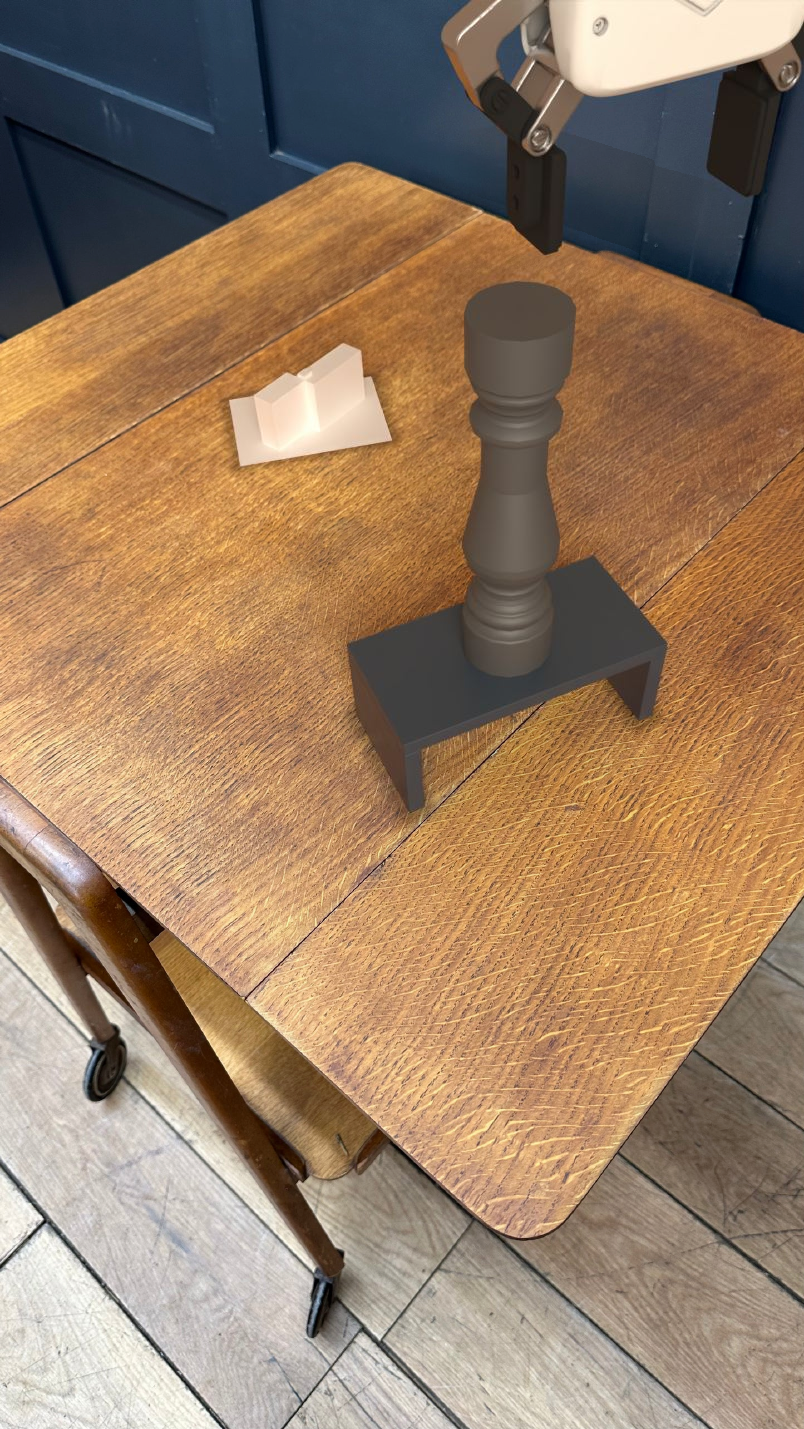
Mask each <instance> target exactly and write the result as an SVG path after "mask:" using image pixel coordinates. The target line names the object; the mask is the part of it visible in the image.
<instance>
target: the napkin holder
mask: <svg viewBox="0 0 804 1429" xmlns="http://www.w3.org/2000/svg"><path fill="white" fill-rule="evenodd" d="M228 401H229V407H230V414H231V420H232V425H233V431H234V439H235V442H236V449H237V455H238V460H239V462H238V463H239V467H245V466H246V467H247V466H251V465H256V464H263V463H269V462H274V461H280V460H285V459H292V458H298V457H304V456H309V455H316V454H321V453H326V452H327V453H328V452H332V451H340V450H345V449H351V448H356V447H362V446H368V445H373V444H375V445H376V444H380V443H385V442H392V441H393V439H392V436H391V433H390V428H389V427H388V424H387V420H386V417H385V414H384V412H383V411H384V410H383V408H382V406H381V401H380V399H379V395H378V392H377V390H376V386H375V384H374V380H373V378H372V376H366V377H364V369H363V357H362V350H361V349H359V348H356V347H354V346H351V345H349V344H347V343H344V342H342V343H341V344H339V345H338V346H337V347H335V348H334V349H332V350H330V351H329V352H328V353H326V354H325V355H323V356H322V357H320V358H319V359H317V360H316V361H315V362H313V363H312V364H311V365H309V366H308V367H305V368H303V369H301V371H299V372H298V373H297V374H296V375H294V374H292V373H290V372H285V373H283V374H282V375H281V376H279V377H277V378H276V379H275V380H273V381H272V382H270V383H269V384H268V385H266V386H265V387H263V388H262V389H261V390H259V391H258V392H256V393H255V394H253V395H252V396H245V397H239V398H233V399H229V400H228Z"/></svg>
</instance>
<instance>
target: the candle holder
mask: <svg viewBox="0 0 804 1429" xmlns="http://www.w3.org/2000/svg"><path fill="white" fill-rule="evenodd" d="M576 318H577V306H576V305H575V303H574V301H573V299H572V297H571V296H570V295H568V294H567V293H565V292H564V291H562V290H561V289H559V288H558V287H555V286H552V285H548V284H545V283H542V282H539V281H538V282H536V281H521V280H520V281H519V280H516V281H510V282H509V281H508V282H503V283H502V282H501V283H496V284H493V285H491V286H489V287H486V288H483V289H480V290H479V291H477V292H476V293H475V294H474V295H472V296H471V297H470V298H469V299H468V300H467V302H466V305H465V308H464V311H463V367H464V371H465V374H466V375H467V378H468V380H469V382H470V385H471V387H472V391H473V392H474V393H475V395H477V397H476V399H475V400H474V401H473V402H471V405H470V408H469V412H468V421H469V424H470V427H471V430H472V432H473V434H474V435H475V436H476V437H478V438H479V439H480V474H479V475H480V476H479V477H478V478H479V479H478V482H477V485H476V489H475V492H474V497H473V499H472V503H471V507H470V509H469V513H468V516H467V520H466V523H465V525H464V529H463V534H462V538H461V550H462V552H463V555H464V559H465V562H466V564H467V567H468V568H469V570H470V571H471V572H472V573H473V574H474V577H473V578H472V579H471V580H469V582H468V584H467V589H466V593H465V598H464V601H463V602H464V606H463V610H462V646H463V649H464V652H465V656H466V658H467V659H468V660H469V661H470V662H471V663H472V664H473V665H474V666H475V667H476V668H477V669H479V670H481V671H483V672H486V673H488V674H490V675H494V676H502V677H514V676H520V675H526V674H528V673H530V672H532V671H533V670H535V669H537V668H539V667H541V665H542V664H543V663H544V662H545V660H546V659H547V658H548V656H549V654H550V649H551V643H552V631H553V620H554V607H553V605H552V602H551V598H552V592H551V589H550V587H549V584H548V582H547V580H546V579H545V578H544V576H545V575H546V574H547V572H549V571H551V569H552V568H553V567H554V565H555V564H556V562H557V560H558V557H559V551H560V545H561V534H560V528H559V525H558V520H557V516H556V511H555V506H554V500H553V496H552V492H551V488H550V483H549V479H548V474H547V472H548V458H549V444H550V441H551V440H553V438H554V437H555V436H556V435H557V434H558V433H559V432H560V431H561V427H562V423H563V418H564V409H563V407H562V405H561V403H560V400H559V399H557V398H556V397H557V395H558V394H559V393H560V392H561V391H562V390H563V388H564V386H565V381H566V379H568V377H570V375H571V370H572V364H573V355H574V354H573V353H574V344H575V332H576V320H577V319H576Z"/></svg>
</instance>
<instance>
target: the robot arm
mask: <svg viewBox="0 0 804 1429" xmlns="http://www.w3.org/2000/svg"><path fill="white" fill-rule="evenodd" d="M519 26H520V37H521V38H520V39H521V44H522V49H523V51H524V53H525V55H526V57H525V59H524V61H523V63H521V66H520V67H519V69H518V70H517V73H516V75H515V76H514V78H513V79H512V81H511V83H508V82H507V80H506V78H505V76H504V73H503V71H502V67H501V65H500V61H499V59H498V49H499V48H500V45H501V43H502V42H503V41H504V40H505V38H506V37H508V36H509V35H510V34H511V33H512V32H513V31H514V30H516V29H517V28H518V27H519ZM440 40H441V43H442V47H443V48H444V51H445V52H446V55H447V56H448V58H449V60H450V62H451V65H452V66H453V69H454V70H455V73H456V75H457V77H458V80H459V81H460V82H461V83H462V85H463V87H464V93H465V96H466V98H467V99H468V101H469V102H470V103H472V105H474V107H475V108H477V110H479V111H480V112H481V113H482V114H483V115H484V116H486V117H487V119H488V120H490V121H491V123H493V124H494V125H495V126H496V128H497V129H498V130H499V131H500V132H501V133H503V134H504V135H506V138H507V139H506V188H505V189H506V192H505V194H506V195H505V208H506V215H507V218H508V220H509V223H510V224H511V225H512V226H513V228H514V229H515V231H516V232H518V233H519V234H520V236H522V237H523V238H524V239H525V240H526V241H527V242H528V243H530V244H531V245H532V246H533V247H534V248H535V249H537V250H538V251H539V252H540V253H541V254H542V255H543V256H548V255H551V254H555V253H558V252H559V251H560V250H559V249H560V248H561V247H562V246H563V238H564V237H563V236H564V216H565V200H566V184H567V183H566V182H567V167H568V166H567V165H568V159H567V158H568V157H567V155H566V152H565V151H564V150H562V149H561V148H560V147H559V146H557V145H556V144H555V142H556V141H557V139H558V138H559V136H560V134H561V133H562V131H563V130H564V128H565V127H566V126H567V123H568V122H569V120H570V119H571V117H572V116H573V114H574V113H575V111H576V109H577V108H578V106H579V105H580V103H581V101H582V100H583V99H584V97H585V95H586V96H589V97H594V98H610V97H615V96H621V95H625V94H629V93H635V92H638V91H643V90H647V89H651V88H654V87H658V86H663V85H666V84H671V83H674V82H678V81H683V80H686V79H690V78H694V77H699V76H703V75H705V74H709V73H713V72H717V71H720V70H721V71H722V70H724V69H729V68H733V67H736V68H735V69H731V70H727V71H723V72H722V78H721V80H720V82H719V83H718V84H719V85H718V90H717V97H716V103H715V108H714V115H713V122H712V128H711V133H710V141H709V146H708V153H707V160H706V165H705V166H706V171H707V173H708V174H709V175H711V176H712V177H714V178H715V179H717V180H718V181H720V182H721V183H722V184H724V185H726V186H728V187H729V188H730V189H731V190H734V192H737V193H738V194H739V195H741V196H743V197H745V198H750V197H753V196H757V195H759V194H760V193H761V191H762V189H763V184H764V180H765V174H766V170H767V164H768V162H769V161H768V160H769V155H770V152H771V146H772V142H773V137H774V133H775V132H774V131H775V126H776V121H777V116H778V112H779V106H780V102H781V96H782V92H787V91H788V90H790V89H792V88H793V87H794V86H795V85H796V83H798V81H799V79H800V76H801V73H802V68H803V67H802V61H803V60H804V0H470V1H469V2H467V3H466V5H464V6H463V7H462V8H461V9H460V10H458V11H457V12H456V13H455V14H454V15H453V16H452V17H451V18H450V19H449V20H448V21H446V23H445V24H444V25H443V27H442V30H441V36H440Z"/></svg>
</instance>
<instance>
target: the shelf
mask: <svg viewBox="0 0 804 1429" xmlns="http://www.w3.org/2000/svg"><path fill="white" fill-rule="evenodd" d="M544 578H545V579H546V580H547V582H548V584H549V587H550V589H551V592H552V598H551V602H552V605H553V607H554V620H553V631H552V643H551V649H550V654H549V656H548V658H547V659H546V660H545V662H544V663H543V664H542V665H541V667H539V668H537V669H535V670H533V671H532V672H530V673H528V674H526V675H520V676H514V677H502V676H494V675H490V674H488V673H486V672H483V671H481V670H479V669H477V668H476V667H475V666H474V665H473V664H472V663H471V662H470V661H469V660H468V659H467V658H466V656H465V652H464V649H463V646H462V610H463V606H464V602H465V601H462V602H460V603H457V604H454V605H451V606H448V607H446V608H443V609H440V610H438V611H435V612H431V613H429V614H426V615H424V616H421V617H418V618H415V619H412V620H409V621H406V622H404V623H400V624H398V625H396V626H392V627H390V628H387V629H384V630H382V631H377V632H375V633H373V634H370V635H367V636H365V637H364V636H363V637H362V638H359V639H356V640H354V641H351V642H348V643H346V651H347V655H348V656H347V657H348V664H349V671H350V678H351V685H352V693H353V694H352V695H353V701H354V708H355V714H356V716H357V718H358V720H359V722H360V724H361V726H362V728H363V729H364V731H365V733H366V736H367V737H368V739H369V741H370V742H371V744H372V746H373V748H374V751H375V752H376V754H377V756H378V757H379V760H380V761H381V763H382V765H383V767H384V769H385V770H386V772H387V774H388V776H389V778H390V780H391V782H392V784H393V786H394V787H395V789H396V791H397V793H398V795H399V796H400V798H401V800H402V802H403V804H404V807H405V808H406V809H407V812H408V813H410V814H411V813H413V812H415V811H418V810H420V809H423V808H424V807H425V797H424V782H423V781H424V780H423V779H424V778H423V764H422V750H425V749H427V748H429V747H432V746H434V745H438V744H440V743H442V742H445V741H447V740H451V739H453V738H455V737H457V736H461V735H462V734H465V733H468V732H471V731H474V730H476V729H478V728H481V727H484V726H486V725H488V724H491V723H494V722H496V721H499V720H501V719H504V718H507V717H510V716H512V715H514V714H517V713H520V712H522V711H525V710H528V709H530V708H532V707H534V706H538V705H540V704H543V703H545V702H548V701H551V700H553V699H556V698H558V697H560V696H563V695H567V694H568V693H572V692H573V691H577V690H579V689H581V688H584V687H586V686H589V685H591V684H595V683H597V682H600V681H602V680H605V679H606V680H607V681H608V683H609V684H610V686H611V687H612V688H613V689H614V690H615V692H616V693H617V694H618V696H619V698H621V700H622V701H623V702H624V704H625V705H626V706H627V707H628V709H629V710H630V711H631V714H633V715H634V717H635V718H636V720H637V721H638V722H639V721H642V720H645V719H647V718H649V717H653V714H654V710H655V705H656V700H657V696H658V692H659V687H660V682H661V678H662V673H663V669H664V664H665V660H666V655H667V651H668V646H669V643H668V641H666V639H665V638H664V637H663V636H662V635H661V633H660V632H659V631H658V630H657V629H656V627H655V626H654V625H653V624H652V623H651V621H650V620H649V619H648V618H647V617H646V615H645V614H644V613H643V612H642V610H641V609H640V608H639V607H638V606H637V605H636V603H635V602H634V601H633V599H631V598H630V596H629V595H628V594H627V593H626V591H625V590H624V589H623V588H622V587H621V585H620V584H619V583H618V582H617V581H616V579H615V578H614V577H613V576H612V574H610V573H609V572H608V569H606V568H605V567H604V565H603V564H602V563H601V562H600V561H599V559H598V558H597V557H596V556H595V555H591V556H588V557H586V558H582V559H580V560H576V561H574V562H571V563H569V564H566V565H563V566H560V567H557V568H555V569H552V570H549V571H548V572H547V574H546V575H545V576H544Z"/></svg>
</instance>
